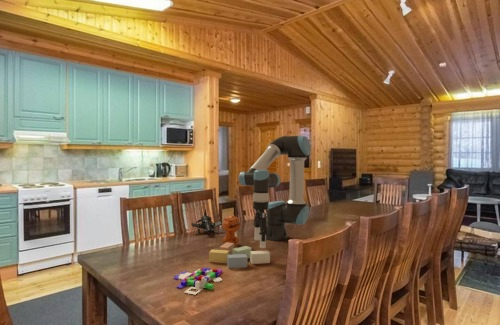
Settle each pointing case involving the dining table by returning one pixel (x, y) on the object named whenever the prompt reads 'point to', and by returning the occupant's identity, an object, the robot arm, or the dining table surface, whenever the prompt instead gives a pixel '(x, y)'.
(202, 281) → the building block set
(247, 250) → the sage brick
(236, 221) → the orange lumpy upright piece
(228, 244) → the terracotta brick
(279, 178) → the robot arm
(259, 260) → the cream brick
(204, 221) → the airplane toy
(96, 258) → the dining table surface
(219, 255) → the ochre brick
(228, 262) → the slate brick
